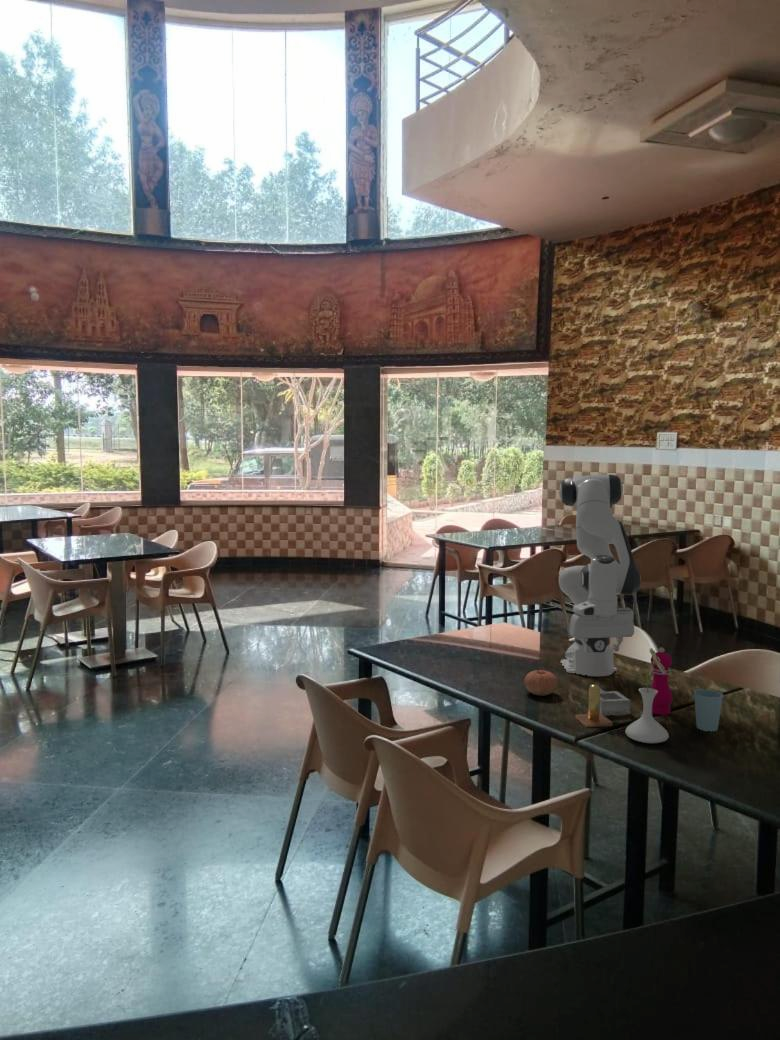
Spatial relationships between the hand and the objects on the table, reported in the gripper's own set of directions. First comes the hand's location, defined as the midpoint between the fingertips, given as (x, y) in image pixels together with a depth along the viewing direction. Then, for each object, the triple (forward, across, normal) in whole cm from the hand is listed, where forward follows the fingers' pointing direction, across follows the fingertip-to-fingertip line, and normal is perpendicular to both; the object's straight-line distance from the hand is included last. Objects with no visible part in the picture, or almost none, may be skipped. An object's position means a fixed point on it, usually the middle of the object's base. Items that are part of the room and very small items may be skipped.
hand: (601, 651), depth 238 cm
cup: (+17, -21, +25) cm, 37 cm away
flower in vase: (+17, 0, +30) cm, 35 cm away
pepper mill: (+17, -15, +9) cm, 25 cm away
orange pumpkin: (+17, +15, -13) cm, 26 cm away
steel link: (+17, 0, +2) cm, 17 cm away
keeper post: (+17, +9, +15) cm, 25 cm away
